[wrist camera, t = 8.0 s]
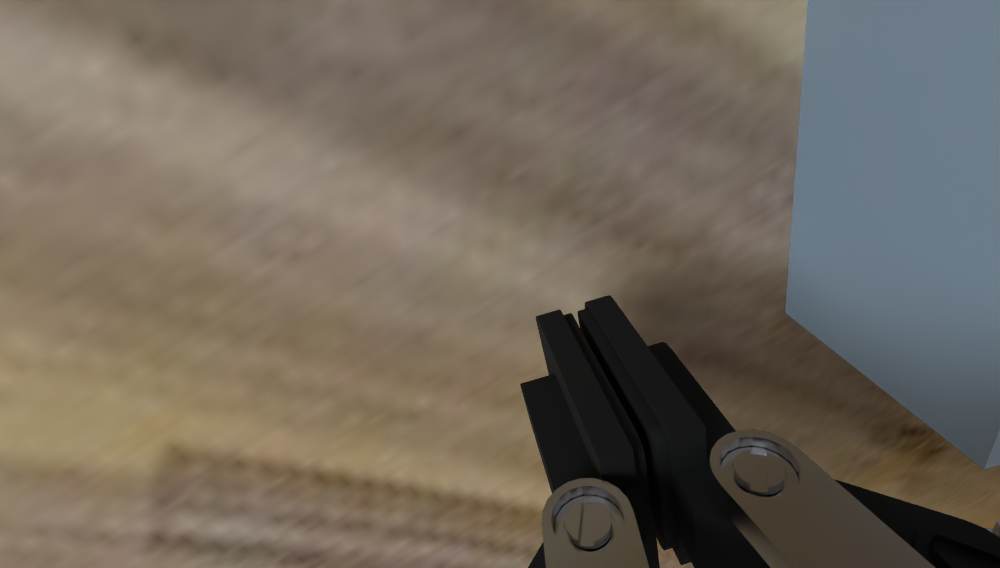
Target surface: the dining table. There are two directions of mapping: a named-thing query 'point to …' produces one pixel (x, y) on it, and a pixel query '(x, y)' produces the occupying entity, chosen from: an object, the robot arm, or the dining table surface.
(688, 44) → the dining table surface
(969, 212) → the dusty-blue block
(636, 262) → the dining table surface
